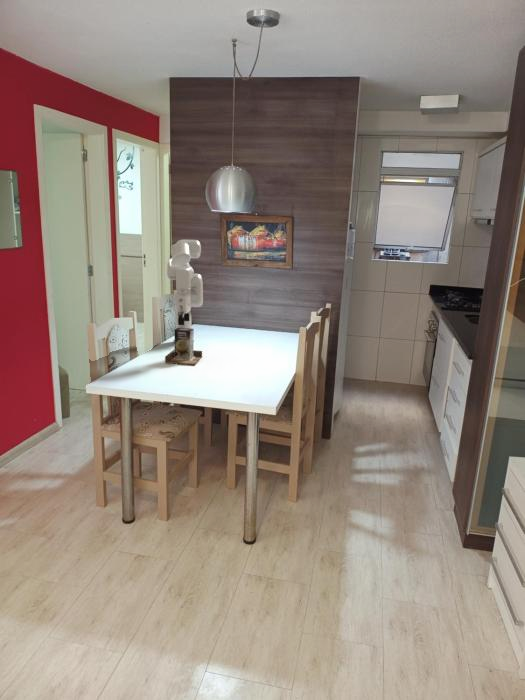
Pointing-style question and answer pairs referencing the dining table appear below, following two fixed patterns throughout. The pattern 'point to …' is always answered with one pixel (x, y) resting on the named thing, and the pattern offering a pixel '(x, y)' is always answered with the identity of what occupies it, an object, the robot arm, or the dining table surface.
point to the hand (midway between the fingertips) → (183, 322)
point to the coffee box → (184, 343)
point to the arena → (193, 361)
